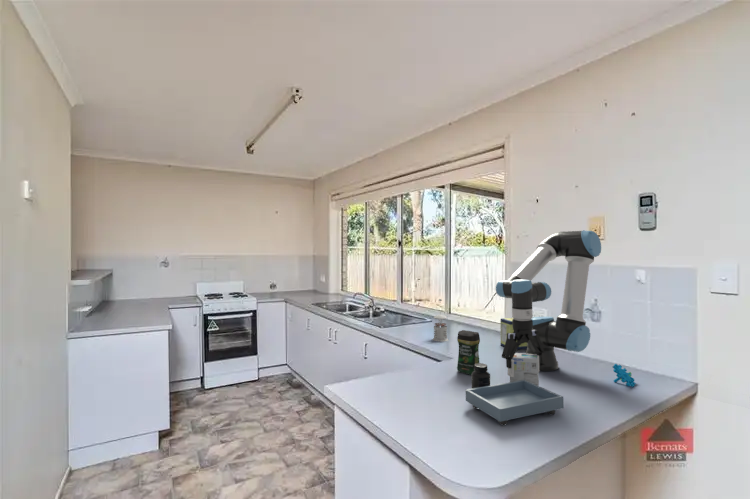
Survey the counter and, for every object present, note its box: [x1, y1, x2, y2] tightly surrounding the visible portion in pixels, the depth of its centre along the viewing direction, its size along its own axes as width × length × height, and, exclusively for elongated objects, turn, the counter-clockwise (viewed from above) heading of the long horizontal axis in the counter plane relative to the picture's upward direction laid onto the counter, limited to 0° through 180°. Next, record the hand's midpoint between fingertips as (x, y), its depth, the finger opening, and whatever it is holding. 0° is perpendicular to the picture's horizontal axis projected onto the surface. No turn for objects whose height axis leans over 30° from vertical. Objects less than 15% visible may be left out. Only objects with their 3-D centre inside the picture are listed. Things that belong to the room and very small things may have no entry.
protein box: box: [499, 317, 527, 350], centre depth 218 cm, size 10×16×16 cm
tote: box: [465, 380, 564, 426], centre depth 132 cm, size 18×26×6 cm
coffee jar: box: [456, 329, 481, 375], centre depth 174 cm, size 10×8×19 cm
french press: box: [432, 298, 449, 343], centre depth 238 cm, size 10×12×25 cm
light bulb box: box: [509, 352, 540, 387], centre depth 153 cm, size 11×7×11 cm, turn 71°
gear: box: [612, 363, 637, 388], centre depth 158 cm, size 11×6×10 cm
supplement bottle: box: [470, 362, 491, 389], centre depth 145 cm, size 7×7×12 cm
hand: (523, 373), depth 153 cm, fingers closed on light bulb box, 12 cm apart
